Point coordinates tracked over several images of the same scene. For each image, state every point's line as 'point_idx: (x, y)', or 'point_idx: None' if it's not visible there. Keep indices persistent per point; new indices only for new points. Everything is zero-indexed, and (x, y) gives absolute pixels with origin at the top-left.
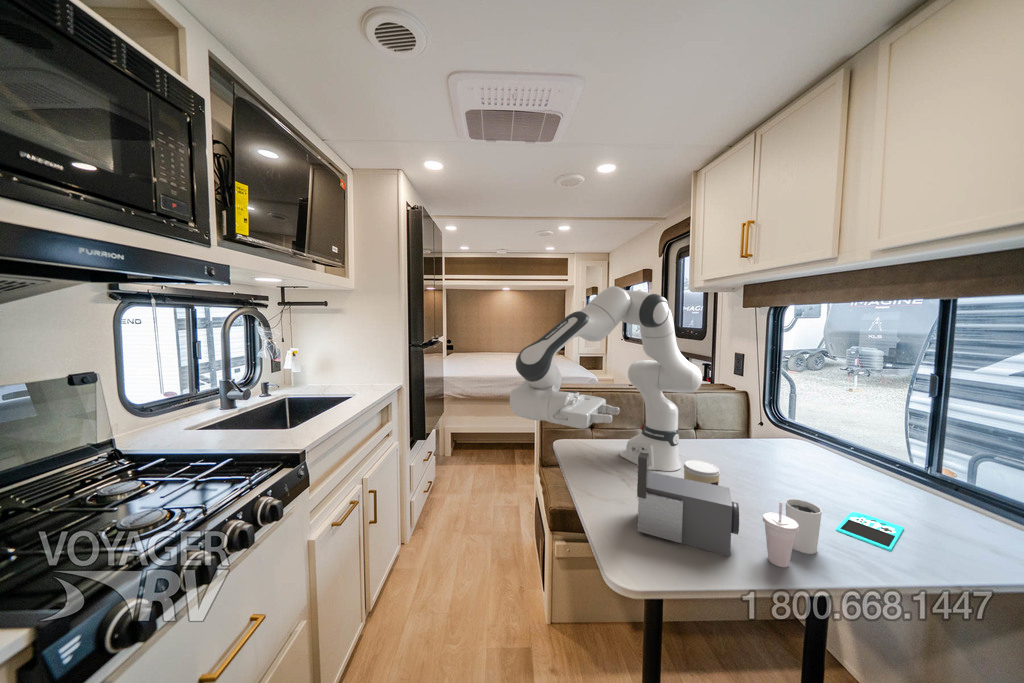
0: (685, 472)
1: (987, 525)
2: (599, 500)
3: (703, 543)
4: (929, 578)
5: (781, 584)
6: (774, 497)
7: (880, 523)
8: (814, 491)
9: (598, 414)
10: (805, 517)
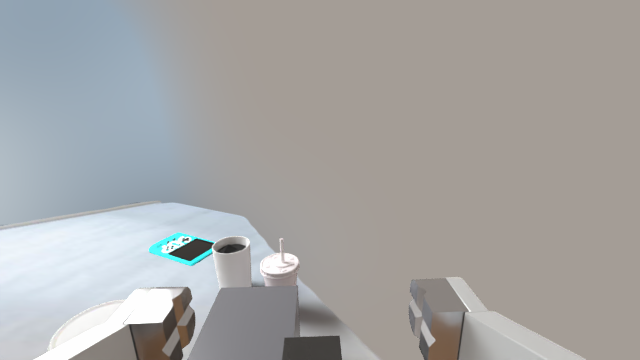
0: None
1: (165, 206)
2: None
3: None
4: (257, 239)
5: (330, 313)
6: (97, 300)
7: (173, 240)
8: (84, 266)
9: (541, 346)
10: (249, 250)
